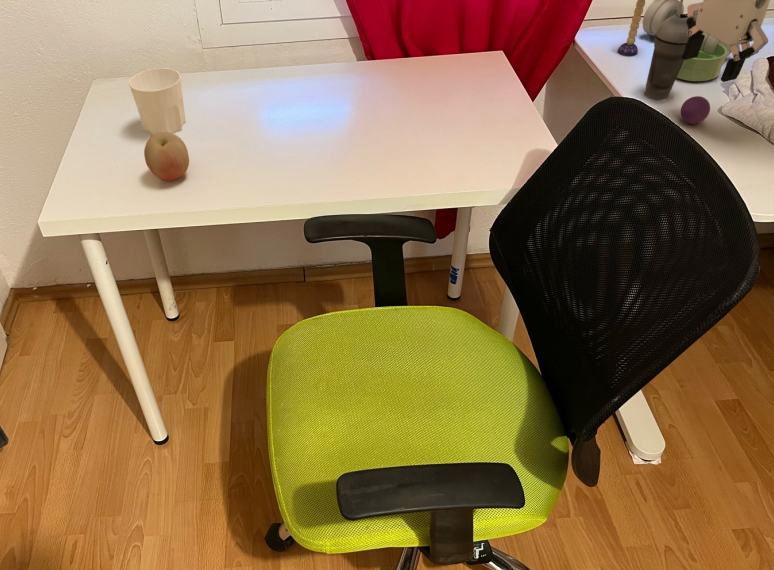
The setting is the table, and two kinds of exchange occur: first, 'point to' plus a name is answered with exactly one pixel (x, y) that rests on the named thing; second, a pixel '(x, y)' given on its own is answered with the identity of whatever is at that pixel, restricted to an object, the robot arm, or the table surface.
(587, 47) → the table surface
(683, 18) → the beverage cup
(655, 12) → the headphones
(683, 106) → the ball
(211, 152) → the table surface
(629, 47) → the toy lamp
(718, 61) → the bowl
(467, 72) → the table surface
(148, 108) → the cup
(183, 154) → the fruit
